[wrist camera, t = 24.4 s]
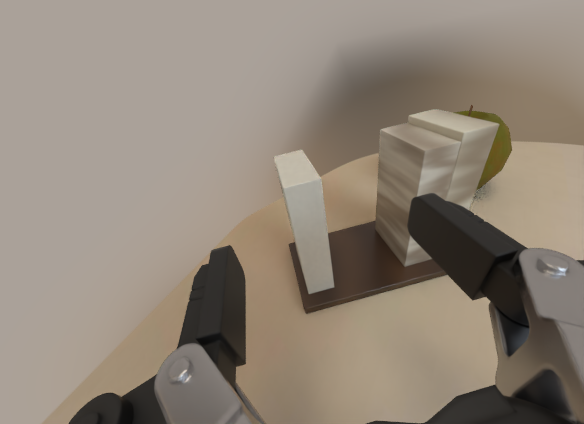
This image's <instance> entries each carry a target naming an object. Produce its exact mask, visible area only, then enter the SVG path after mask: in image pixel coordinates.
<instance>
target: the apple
mask: <svg viewBox="0 0 584 424" xmlns="http://www.w3.org/2000/svg"><path fill="white" fill-rule="evenodd" d="M472 108H473V106H472V105H471V108H470V111H462V112H454V113H455V114H460V115H464V116H468V117H472V118H477V119H481V120H485V121H490V122H494V123H498V124H499V127H498V130H497V133H496V136H495V138H494V141H493V144H492V147H491V150H490V152H489V155H488V158H487V161H486V164H485V166H484V169H483V172H482V175H481V178H480V180H479V183H478V186H477V189H476V190H478V189H479V188H480V187H482V186H483V185H484V184H485V183H487V182H488V181H489V180H490V179H491V178H493V177H494V176H495V175H496V174H497V173H499V172H500V171H501V170H502V169H503V167H504V165H505V163H506V161H507V159H508V157H509V155H510V153H511V151H512V146H511V138H510V132H509V128H508V127H507V126H506V124H505V123H504V122H503V121H502V120H501V118H500V117H498V116H497V115H495V114H491V113H485V112H477V111H472Z"/></svg>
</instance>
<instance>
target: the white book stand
mask: <svg viewBox="0 0 584 424" xmlns="http://www.w3.org/2000/svg"><path fill="white" fill-rule="evenodd" d="M498 127H499V124H498V123H494V122H490V121H485V120H481V119H477V118H472V117H468V116H464V115H460V114H455V113H451V112H447V111H442V110H438V109H434V110H430V111H426V112H422V113H418V114H414V115H410V116H409V118H408V123H404V124H400V125H397V126H392V127H388V128H384V129H381V130H380V144H379V164H378V185H377V205H376V221H373V222H369V223H366V224H362V225H358V226H354V227H350V228H347V229H343V230H339V231H335V232H332V233H328V239H329V247H330V255H331V264H332V272H333V280H334V287H333V288H330V289H326V290H322V291H319V292H315V293H311V294H309V293H308V290H307V286H306V282H305V279H304V275H303V271H302V268H301V264H300V260H299V257H298V253H297V249H296V245H295V242H294V243H290V244H289V247H290V251H291V255H292V259H293V263H294V268H295V272H296V276H297V280H298V284H299V288H300V292H301V297H302V301H303V305H304V309H305V313H310V312H314V311H317V310H321V309H324V308H328V307H332V306H335V305H339V304H342V303H346V302H350V301H353V300H357V299H360V298H364V297H368V296H371V295H375V294H378V293H382V292H386V291H389V290H393V289H396V288H400V287H404V286H407V285H411V284H414V283H418V282H422V281H425V280H429V279H432V278H436V277H440V276H443V275H447V274H446V272H445V271H444V270H443V269H442V268H441V267H440V266H439V265H438V264H437V263H436V262H435V261H434V260H433V259H432V258H431V257H430V256H429V255H428V254H427V253H426V252H425V251H424V250H423V249H422V248H421V247H420V246H419V245H418V243H417V242H416V241H415V240H414V239H413V238H412V237H411V236H410V234H409V232H408V228H407V223H408V217H409V211H410V205H411V200H412V199H413V198H414V197H417V196H421V195H425V194H428V193H435V194H437V195H438V196H439V197H441V198H442V199H444V200H445V201H450V202H452V203H455V204H458V205H461V206H463V207H465V208H466V209H468V210H469V208H470V206H471V203H472V200H473V197H474V194H475V192H476V189H477V186H478V183H479V180H480V178H481V175H482V172H483V169H484V166H485V164H486V161H487V158H488V155H489V152H490V150H491V147H492V144H493V141H494V138H495V136H496V133H497V130H498Z"/></svg>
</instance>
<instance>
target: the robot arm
mask: <svg viewBox="0 0 584 424" xmlns="http://www.w3.org/2000/svg"><path fill="white" fill-rule="evenodd" d="M407 228H408V232H409V234H410V236H411V237H412V238H413V239H414V240H415V241H416V242H417V243H418V245H419V246H420V247H421V248H422V249H423V250H424V251H425V252H426V253H427V254H428V255H429V256H430V257H431V258H432V259H433V260H434V261H435V262H436V263H437V264H438V265H439V266H440V267H441V268H442V269H443V270H444V271H445V272H446V274H447V275H448V276H449V277H450V278H451V279H452V280H453V281H454V282H455V283H456V284H457V285H458V286H459V287H460V288H461V289H462V290H463V291H464V292H465V293H466V294H467V295H468V296H469V297H470V298H471V299H472V300H476V299H479V298H483V297H487V298H488V299H489V300H490V301H491V302H490V303H489V312H490V317H491V323H492V328H493V333H494V339H495V344H496V350H497V355H498V368H497V371H496V378H495V385H492V386H489V387H486V388H482V389H479V390H476V391H473V392H469V393H466V394H463V395H459V396H457V397H455V398H454V399H453V400H452V401H451V402H450V403H448V404H447V405H446V406H445V407H444V408H442V409H441V410H440V411H439V412H438V413H437V414H435V415H434V416H433V417H432V418H431V419H430V420H428V421H427V422H425V423H404V422H388V421H374V422H370V423H367V424H584V260H574V259H573V258H571V257H569V256H567V255H565V254H562V253H559V252H556V251H553V250H549V249H543V248H530V249H528V248H526V247H525V246H523V245H521V244H520V243H518V242H517V241H515V240H514V239H512V238H511V237H509V236H508V235H506V234H505V233H503V232H501V231H500V230H498V229H497V228H495V227H494V226H492V225H491V224H489V223H488V222H484V220H483V219H481V218H480V217H478V216H477V215H474V213H472V212H471V211H469V210H468V209H466V208H465V207H463V206H461V205H458V204H455V203H452V202H450V201H445V200H444V199H442V198H441V197H439V196H438V195H437V194H435V193H428V194H425V195H421V196H417V197H414V198H413V199H412V200H411V205H410V211H409V217H408V223H407ZM189 300H190V301H189V302H188V306H187V310H186V315H185V319H184V323H183V327H182V331H181V336H180V340H179V343H178V347H177V349H176V350H175V351H173V352H172V353H171V354H170V355H169V356H168V357H167V358H166V360H165V361H164V362H163V364H162V365H161V367H160V369H159V371H158V373H157V374H156V375H155V376H154V377H152V378H151V379H149V380H148V381H146V382H144V383H143V384H141V385H140V386H138V387H137V388H135V389H133V390H132V391H130V392H129V393H127V394H125V395H124V396H122V397H121V396H119V395H116V394H114V393H105V394H102V395H99V396H97V397H96V398H94V399H92V400H91V401H90V402H88V403H87V404H86V405H85V406H84V407H82V408H81V409H80V410H79V411H78V412H77V414H76V415H75V416H74V417H73V418H72V419H71V421H70V422H69V424H266V423H265V421H264V420H263V419H262V417H261V416H260V415H259V413H258V412H257V410H256V409H255V408H254V406H253V405H252V404H251V402H250V401H249V399H248V398H247V397H246V395H245V394H244V392H243V391H242V390H241V388H240V387H239V386H238V384H237V383H236V382H235V381H236V367H237V366H241V365H244V364H246V295H245V275H244V271H243V269H242V266H241V264H240V262H239V260H238V258H237V256H236V254H235V252H234V250H233V248H232V247H231V246H230V245H229V246H225V247H221V248H218V249H214V250H212V251H211V254H210V260H209V264H206V265H202V266H201V268H200V269H199V271H198V272H197V274H196V275H195V277H194V281H193V285H192V291H191V294H190V298H189Z"/></svg>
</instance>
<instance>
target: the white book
mask: <svg viewBox="0 0 584 424" xmlns="http://www.w3.org/2000/svg"><path fill="white" fill-rule="evenodd" d="M274 161H275V165H276V169H277V173H278V177H279V181H280V185H281V189H282V193H283V197H284V201H285V205H286V209H287V213H288V217H289V221H290V225H291V229H292V233H293V237H294V241H295V245H296V249H297V253H298V257H299V260H300V264H301V268H302V271H303V275H304V279H305V282H306V286H307V290H308V293H309V294H311V293H315V292H319V291H322V290H326V289H330V288H333V287H334V280H333V272H332V264H331V255H330V247H329V239H328V231H327V222H326V214H325V206H324V198H323V189H322V181H321V178H320V176H319V175H318V173H317V172H316V170H315V169H314V167H313V166H312V164H311V163H310V161H309V159H308V158H307V156H306V155H305V153H304V152H303V150H299V151H294V152H290V153H286V154H282V155H278V156H274Z"/></svg>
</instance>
